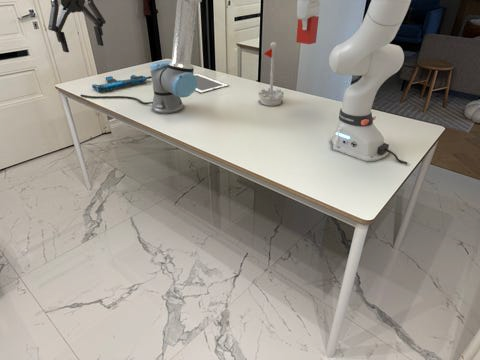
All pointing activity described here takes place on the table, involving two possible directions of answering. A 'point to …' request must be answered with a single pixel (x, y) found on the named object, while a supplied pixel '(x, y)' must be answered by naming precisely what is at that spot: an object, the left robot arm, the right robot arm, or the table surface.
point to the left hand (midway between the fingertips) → (84, 48)
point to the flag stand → (271, 84)
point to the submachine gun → (119, 83)
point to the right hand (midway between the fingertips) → (307, 28)
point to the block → (307, 31)
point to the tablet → (207, 84)
